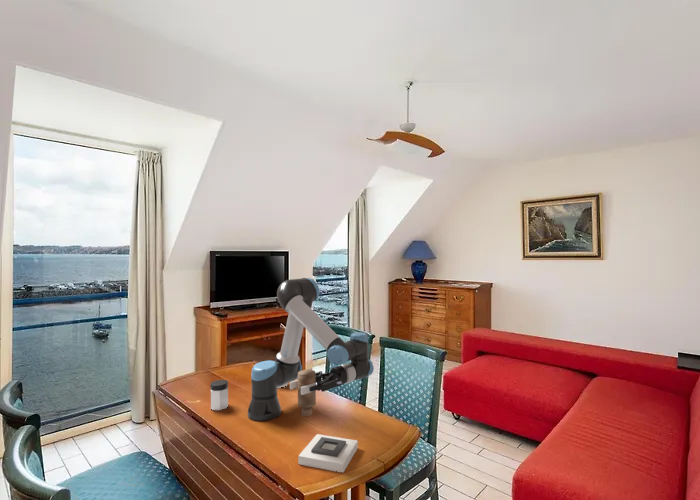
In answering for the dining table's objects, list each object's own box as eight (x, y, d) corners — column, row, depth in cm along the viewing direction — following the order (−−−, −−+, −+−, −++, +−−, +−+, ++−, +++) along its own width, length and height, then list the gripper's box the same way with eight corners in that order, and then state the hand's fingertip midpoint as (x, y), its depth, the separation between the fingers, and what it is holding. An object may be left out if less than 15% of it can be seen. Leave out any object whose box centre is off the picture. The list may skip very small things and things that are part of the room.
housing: (298, 464, 137) (298, 453, 137) (317, 441, 154) (317, 431, 154) (343, 472, 132) (343, 461, 132) (357, 448, 148) (357, 438, 148)
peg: (294, 416, 145) (294, 374, 145) (302, 409, 151) (302, 369, 151) (311, 418, 143) (311, 376, 143) (318, 411, 149) (318, 370, 149)
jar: (223, 402, 193) (222, 378, 193) (232, 406, 188) (232, 381, 188) (206, 407, 186) (206, 383, 186) (215, 412, 181) (215, 387, 181)
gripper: (358, 390, 152) (311, 406, 136) (327, 377, 166) (281, 391, 151) (358, 371, 152) (311, 385, 136) (327, 360, 166) (281, 372, 151)
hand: (295, 388), depth 144 cm, fingers closed on peg, 7 cm apart
